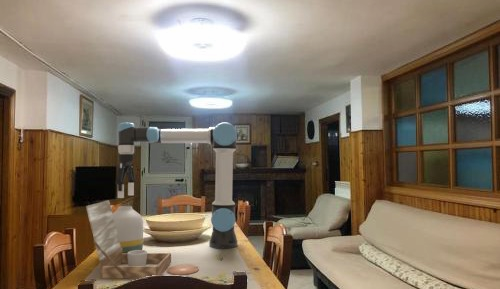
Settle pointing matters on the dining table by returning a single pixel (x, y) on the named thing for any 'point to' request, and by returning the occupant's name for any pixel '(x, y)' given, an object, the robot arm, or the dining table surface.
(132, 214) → the vase
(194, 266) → the saucer
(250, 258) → the dining table surface
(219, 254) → the dining table surface
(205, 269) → the dining table surface
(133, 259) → the cup
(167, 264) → the cold frame
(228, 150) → the robot arm
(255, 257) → the dining table surface
